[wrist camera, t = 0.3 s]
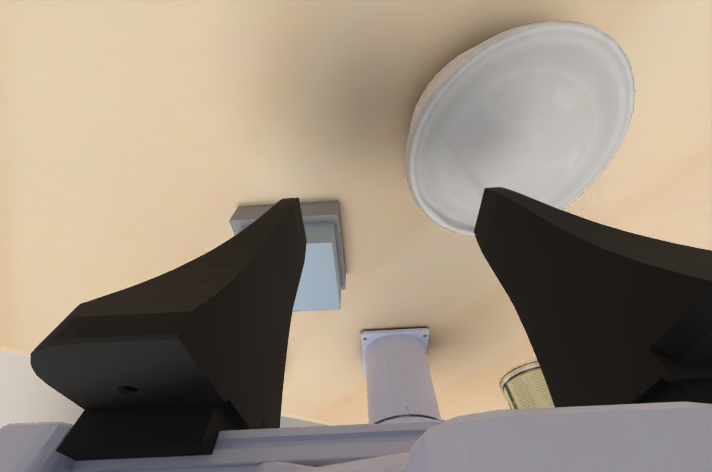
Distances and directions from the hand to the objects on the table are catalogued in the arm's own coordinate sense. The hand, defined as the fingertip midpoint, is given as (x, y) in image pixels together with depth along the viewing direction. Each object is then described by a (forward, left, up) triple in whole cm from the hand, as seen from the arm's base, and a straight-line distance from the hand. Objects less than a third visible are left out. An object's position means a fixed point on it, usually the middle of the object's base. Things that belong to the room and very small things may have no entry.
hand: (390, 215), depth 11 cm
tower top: (-9, +7, -8) cm, 14 cm away
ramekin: (0, -7, -10) cm, 13 cm away
